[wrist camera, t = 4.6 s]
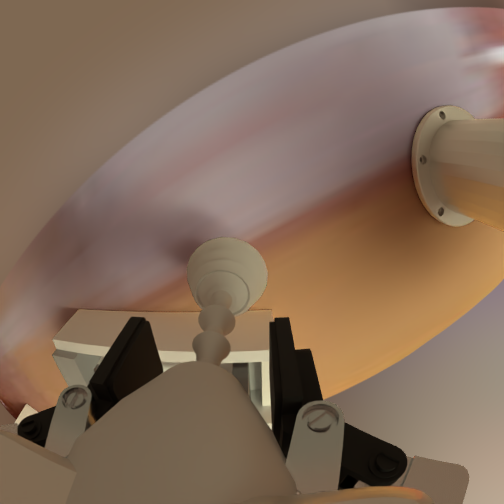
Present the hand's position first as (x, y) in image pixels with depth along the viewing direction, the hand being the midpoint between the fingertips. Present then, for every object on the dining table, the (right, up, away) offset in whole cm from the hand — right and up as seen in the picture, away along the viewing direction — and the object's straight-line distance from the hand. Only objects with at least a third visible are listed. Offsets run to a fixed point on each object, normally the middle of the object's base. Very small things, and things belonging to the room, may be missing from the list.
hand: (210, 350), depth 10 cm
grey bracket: (-7, -7, +17) cm, 20 cm away
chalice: (0, +2, +7) cm, 7 cm away
